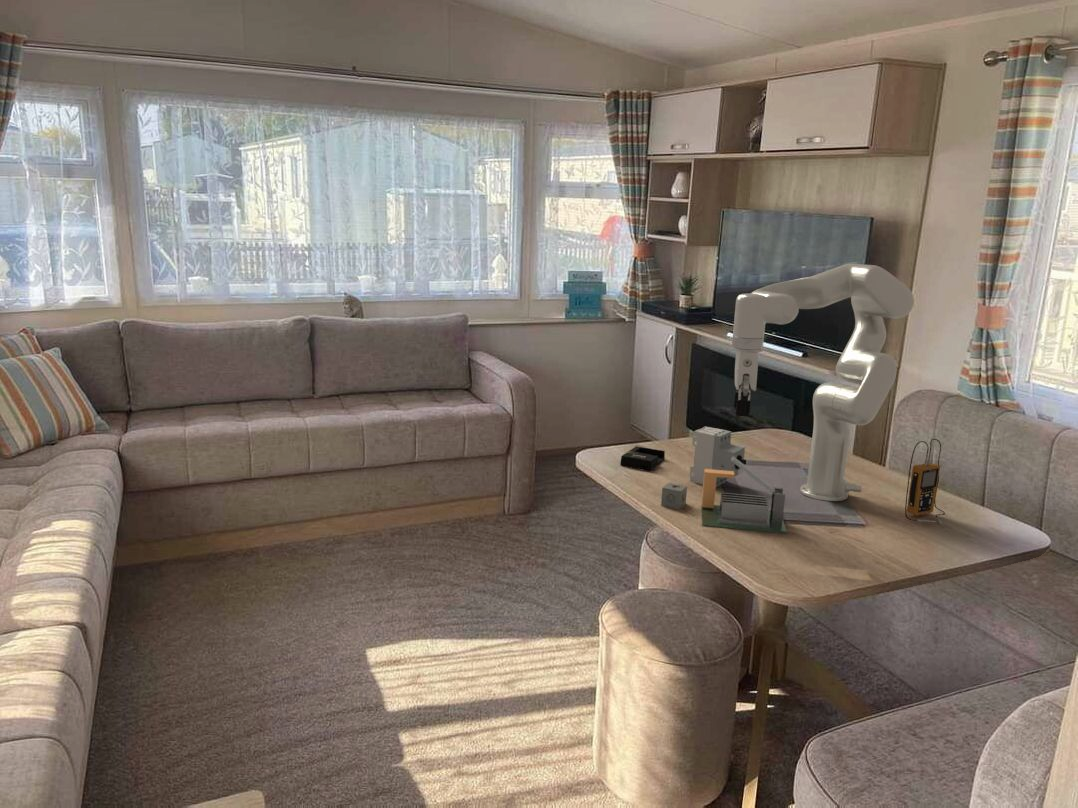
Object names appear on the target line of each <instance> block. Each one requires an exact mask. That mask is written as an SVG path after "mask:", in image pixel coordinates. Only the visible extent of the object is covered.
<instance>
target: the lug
mask: <svg viewBox="0 0 1078 808" xmlns="http://www.w3.org/2000/svg"><path fill="white" fill-rule="evenodd" d="M716 477H722V478H727V479H730V478H731V479H735V477H734V471H725V470H713V469H705V470H704V481H703V485H702V494H701V504H702V507H707V508H714V505H715V499H716V498H715V497H716V488H717V487H716Z"/></svg>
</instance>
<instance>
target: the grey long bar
mask: <svg viewBox="0 0 1078 808" xmlns="http://www.w3.org/2000/svg"><path fill="white" fill-rule="evenodd" d="M731 461H732V462H733V463H734V464H736V465H737V466H738V467H740V468H741V469H742V470H743V472H744V473H746V474H747V475H748V476H750V477H751V478H752V479H753V480H754V481H756V482H757V483H759V484H760V485H761V486H762V487H764V488H765V489H766V490H768V491H769V492H770V493H771V494H772V493H773V494H775V493H780V492H779V491H776V490H775V489H774V488H773V487H774V486H772V485H771V484H770V483H768V482H767V481H766V480H764V479H763V478H762V477H760V476H759V474H757V473H755V472H754V471H752V469H750V468H749V467H748V466H746V464H745V465H744V464H743V463H741V462H740V461H739V460H738V459H736V458H735V457H734V456H733V457H732V458H731Z"/></svg>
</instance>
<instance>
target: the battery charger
mask: <svg viewBox="0 0 1078 808" xmlns="http://www.w3.org/2000/svg"><path fill="white" fill-rule="evenodd" d="M665 453H666V452H665V450H662V449H656V448H650V447H645V446H644V447H643V446H637V445H636V446H634V447H632V448H631V449H629V451H627V452H625V453H624V454H622V455H621V458H620V466H621V467H625V466H626V468H630V467H632V468H631V469H635V468H636V470H640V469H641V471H647V472H652V471H653V470H655V469H656V467H657V466H659V465H660V464H661V463H662V462H663V461H664V460H665V457H666V455H665Z"/></svg>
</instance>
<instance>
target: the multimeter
mask: <svg viewBox="0 0 1078 808" xmlns="http://www.w3.org/2000/svg"><path fill="white" fill-rule="evenodd" d="M933 440H935V441H937V442H938V443H939V454H938V458H937V459H938V460H937V464H935V463H932V462H931V452H932V441H933ZM920 443H924V444H925V445H926V446H927V449H926V450H927V451H926V454H925V459H924V463H922V464H915V465H913V466H912V463H913V458H914V454H915V451H916V448H917V446H918V444H920ZM941 451H942V443H941V441H940V440H939V439H937V438H932V439H930V446H929V444H928V443H927V442H926V441H923V440H921V441H918V442H917V443H916V445H915V446H914V448H913V451H912V455H911V457H910V463H909V471H908V477H907V478H908V479H907V487H906V495H905V496H906V497H905V503H904V504H905V506H904V507H905V508H904V515H905V517H906V519H908V520H910V521H914V522H921V523H922V522H925V523H929V522H931V523H932V522H933V523H936V522H937V521H938V522H939V523H940V524H941V525H943V522H942V521H943V520H941V519H940V517H938V516H944V515H945V514H946V512H945V511H944V510H942V509H940V508H938V507H937V505H936V497H937V491H938V485H939V482H940V469H941V465H940V457H941ZM928 453H929V454H928ZM911 469H912V471H911ZM910 477H911V479H910ZM909 485H910V486H909ZM934 507H935V509H936V510H938V511H940V512H942V514H938V513H937V514H935V518H936V519H937V521H935V520H929V519H913V518H910V517H908V515H907V513H909V514H910V515H913V516H919V515H924V514H930V513H933V512H934Z"/></svg>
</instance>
